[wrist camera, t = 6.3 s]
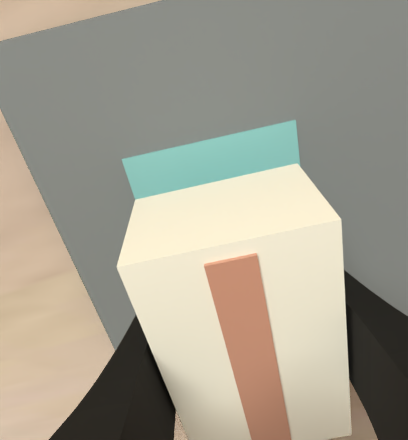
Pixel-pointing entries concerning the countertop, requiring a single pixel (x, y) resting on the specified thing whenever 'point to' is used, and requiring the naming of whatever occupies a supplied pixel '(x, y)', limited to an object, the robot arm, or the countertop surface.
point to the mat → (216, 121)
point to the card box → (244, 305)
